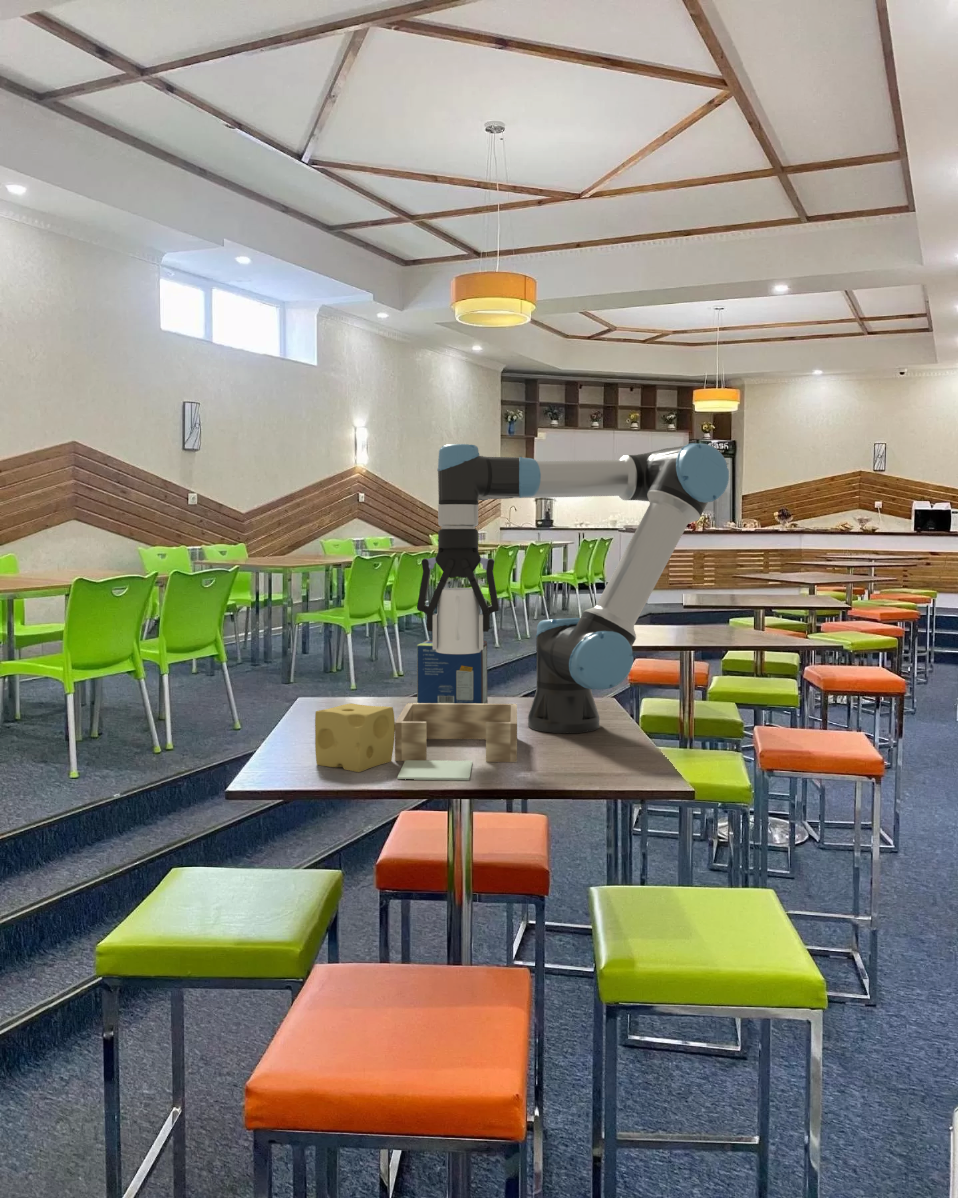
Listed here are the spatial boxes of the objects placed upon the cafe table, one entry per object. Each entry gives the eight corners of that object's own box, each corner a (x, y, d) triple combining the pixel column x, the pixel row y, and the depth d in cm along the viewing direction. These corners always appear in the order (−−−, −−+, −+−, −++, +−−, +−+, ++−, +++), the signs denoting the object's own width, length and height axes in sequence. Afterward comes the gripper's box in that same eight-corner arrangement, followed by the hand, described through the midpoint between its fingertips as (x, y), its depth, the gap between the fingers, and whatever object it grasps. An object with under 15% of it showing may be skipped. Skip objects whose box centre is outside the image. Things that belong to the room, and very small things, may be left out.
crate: (516, 738, 191) (516, 703, 191) (517, 762, 171) (517, 723, 171) (407, 737, 192) (407, 703, 192) (395, 761, 172) (394, 722, 172)
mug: (475, 657, 174) (476, 591, 173) (429, 656, 175) (429, 590, 174) (483, 649, 185) (483, 587, 185) (439, 648, 186) (439, 587, 186)
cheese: (359, 773, 164) (358, 715, 163) (311, 765, 169) (311, 709, 169) (396, 761, 172) (395, 706, 172) (349, 754, 178) (349, 701, 177)
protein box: (424, 703, 231) (424, 639, 230) (488, 705, 229) (488, 640, 228) (416, 711, 221) (415, 644, 220) (482, 713, 219) (482, 645, 217)
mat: (472, 763, 171) (472, 760, 171) (469, 780, 159) (469, 777, 159) (405, 762, 171) (405, 760, 171) (397, 779, 159) (397, 777, 159)
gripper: (513, 528, 182) (513, 647, 183) (405, 528, 183) (405, 646, 184) (513, 527, 174) (513, 651, 176) (400, 527, 175) (400, 650, 177)
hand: (458, 648), depth 180 cm, fingers closed on mug, 8 cm apart
